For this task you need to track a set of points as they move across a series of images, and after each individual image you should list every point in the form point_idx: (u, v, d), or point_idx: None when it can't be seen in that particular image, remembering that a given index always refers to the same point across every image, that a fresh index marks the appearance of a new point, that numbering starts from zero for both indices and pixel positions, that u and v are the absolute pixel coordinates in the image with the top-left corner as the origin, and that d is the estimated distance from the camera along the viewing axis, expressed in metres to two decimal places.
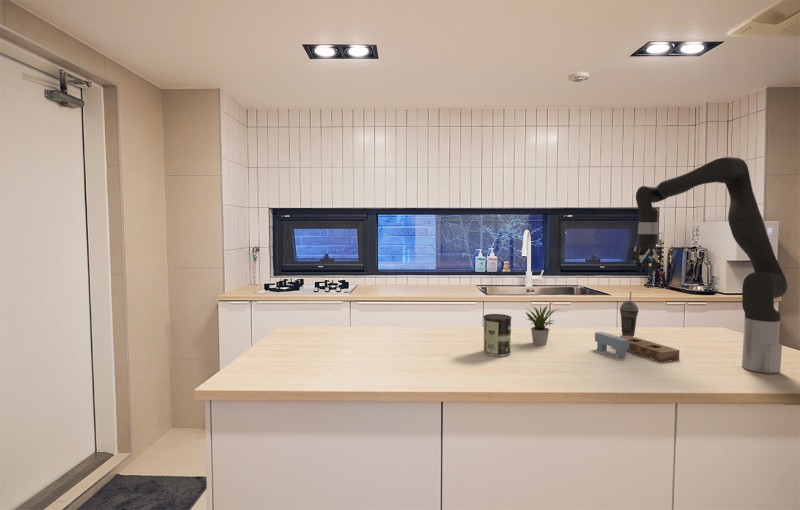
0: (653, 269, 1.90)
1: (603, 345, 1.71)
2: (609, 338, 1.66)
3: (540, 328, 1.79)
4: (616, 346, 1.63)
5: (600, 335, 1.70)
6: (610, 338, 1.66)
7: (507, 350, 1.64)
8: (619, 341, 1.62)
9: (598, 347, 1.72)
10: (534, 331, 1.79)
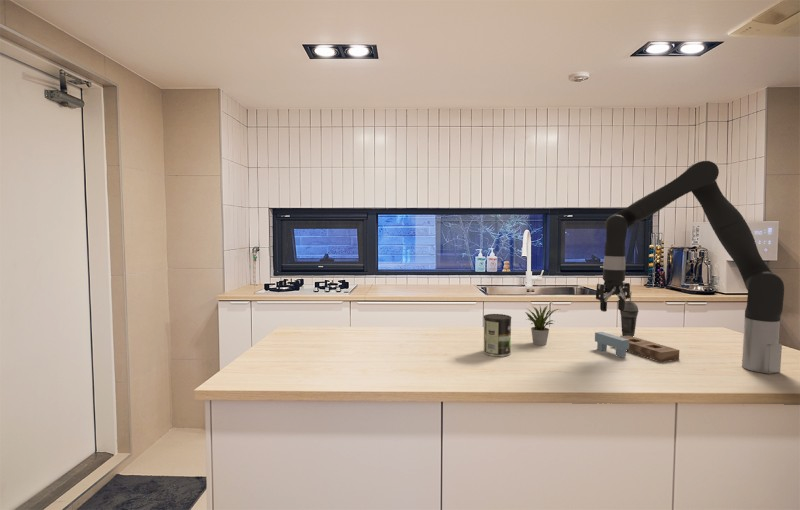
0: (620, 308, 1.68)
1: (603, 345, 1.71)
2: (609, 338, 1.66)
3: (540, 328, 1.79)
4: (616, 346, 1.63)
5: (600, 335, 1.70)
6: (610, 338, 1.66)
7: (507, 350, 1.64)
8: (619, 341, 1.62)
9: (598, 347, 1.72)
10: (534, 331, 1.79)
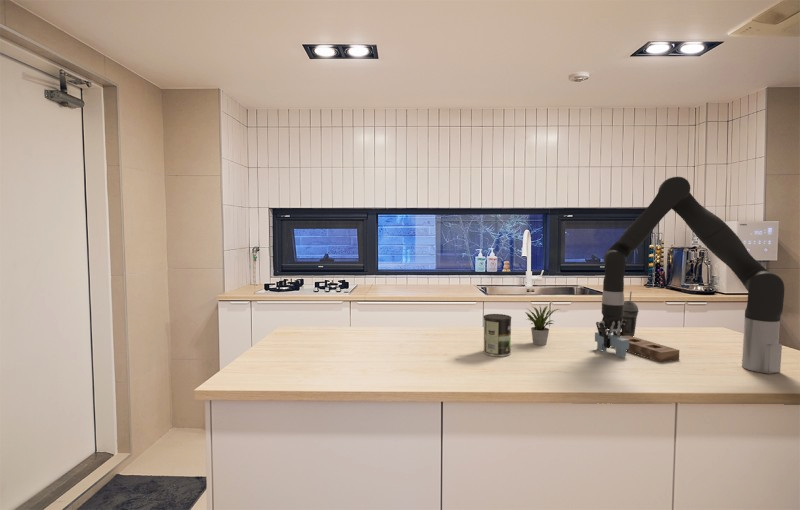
0: None
1: (603, 345, 1.71)
2: None
3: (540, 328, 1.79)
4: (616, 346, 1.63)
5: None
6: (610, 338, 1.66)
7: (507, 350, 1.64)
8: (619, 341, 1.62)
9: (598, 347, 1.72)
10: (534, 331, 1.79)
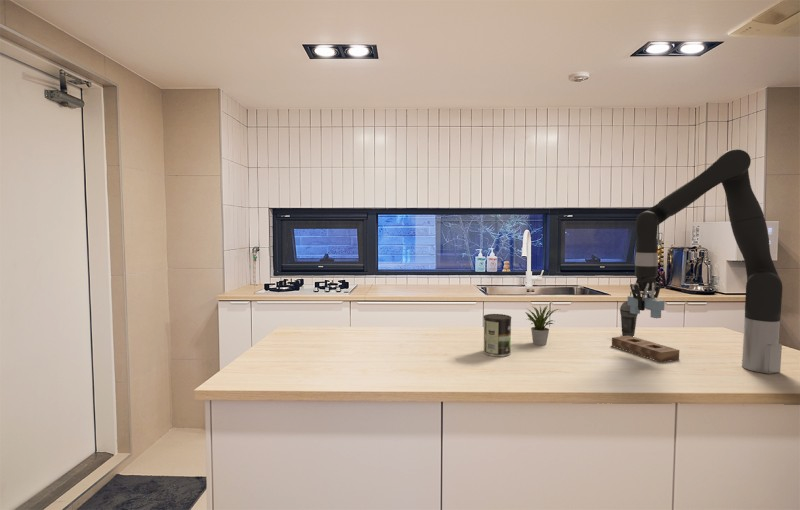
0: None
1: (636, 308, 1.70)
2: None
3: (540, 328, 1.79)
4: (651, 307, 1.62)
5: (633, 298, 1.69)
6: (644, 300, 1.65)
7: (507, 350, 1.64)
8: (655, 302, 1.61)
9: (631, 311, 1.71)
10: (534, 331, 1.79)
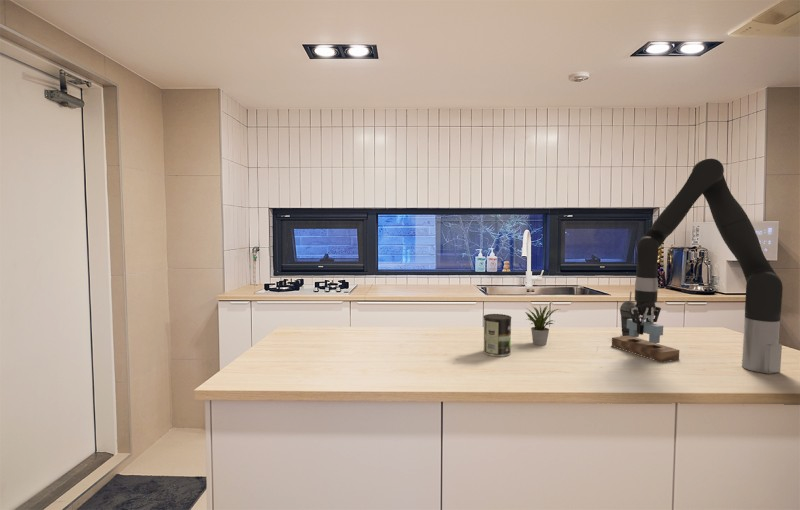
0: None
1: (635, 332, 1.71)
2: None
3: (540, 328, 1.79)
4: (650, 332, 1.63)
5: (632, 322, 1.71)
6: (643, 324, 1.66)
7: (507, 350, 1.64)
8: (653, 327, 1.62)
9: (630, 334, 1.72)
10: (534, 331, 1.79)
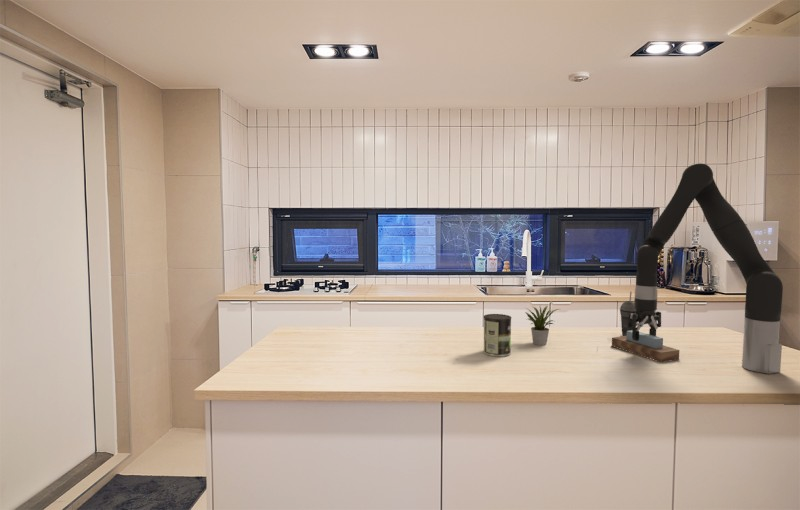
0: None
1: None
2: (642, 336, 1.67)
3: (540, 328, 1.79)
4: (650, 344, 1.64)
5: None
6: (643, 336, 1.66)
7: (507, 350, 1.64)
8: (653, 339, 1.62)
9: None
10: (534, 331, 1.79)
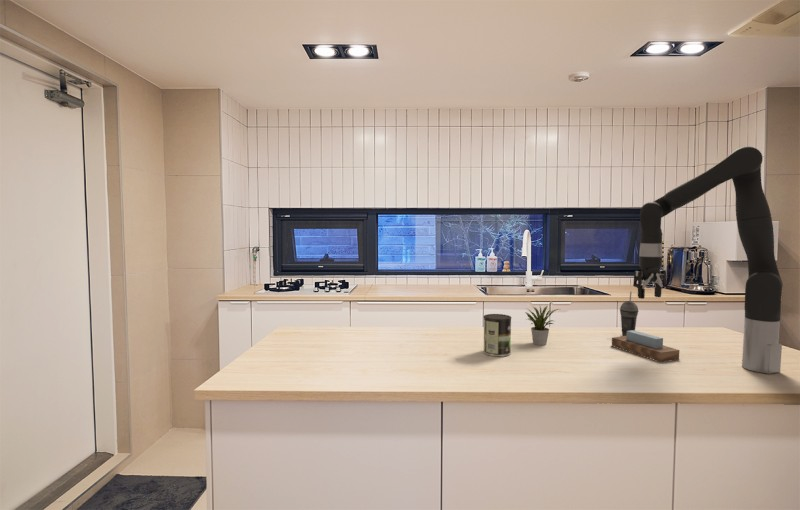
0: (657, 295, 1.69)
1: None
2: (642, 336, 1.67)
3: (540, 328, 1.79)
4: (650, 344, 1.64)
5: (632, 334, 1.71)
6: (643, 336, 1.66)
7: (507, 350, 1.64)
8: (653, 339, 1.62)
9: None
10: (534, 331, 1.79)
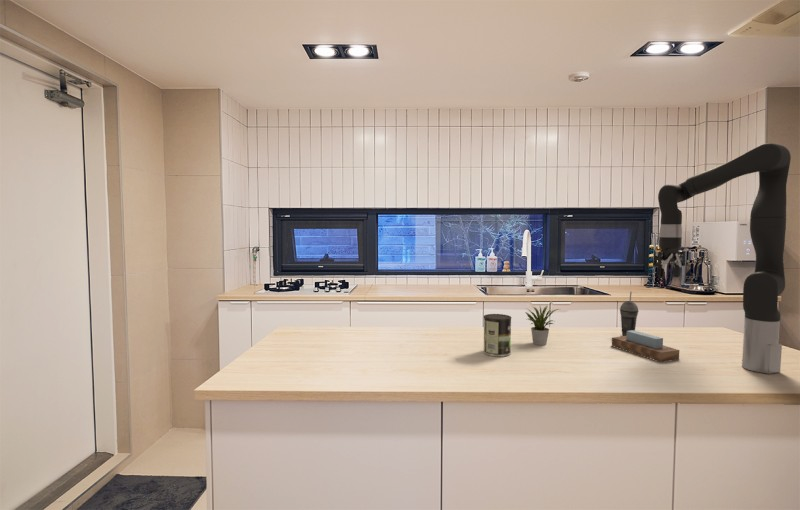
0: (676, 275, 1.74)
1: None
2: (642, 336, 1.67)
3: (540, 328, 1.79)
4: (650, 344, 1.64)
5: (632, 334, 1.71)
6: (643, 336, 1.66)
7: (507, 350, 1.64)
8: (653, 339, 1.62)
9: None
10: (534, 331, 1.79)
